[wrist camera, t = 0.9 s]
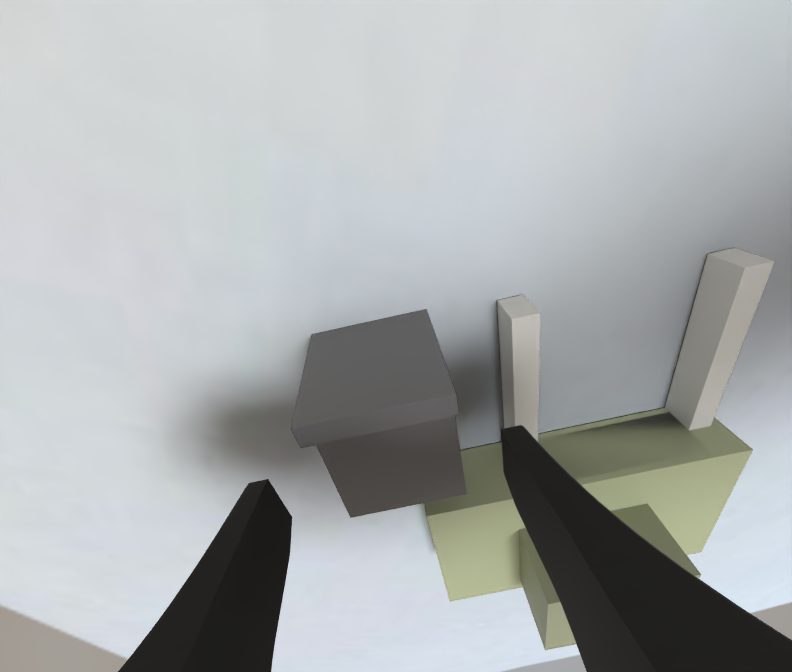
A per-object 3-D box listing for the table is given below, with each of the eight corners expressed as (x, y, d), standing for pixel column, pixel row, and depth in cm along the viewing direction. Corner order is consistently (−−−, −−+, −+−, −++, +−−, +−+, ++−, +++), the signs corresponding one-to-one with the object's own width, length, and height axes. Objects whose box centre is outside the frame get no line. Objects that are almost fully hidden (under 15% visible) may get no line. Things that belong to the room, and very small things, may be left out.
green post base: (748, 244, 13) (993, 323, 8) (661, 501, 22) (753, 617, 17) (382, 325, 14) (396, 449, 8) (439, 546, 22) (463, 672, 17)
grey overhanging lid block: (425, 307, 14) (456, 393, 9) (444, 417, 17) (473, 519, 12) (312, 332, 14) (290, 428, 9) (352, 437, 17) (349, 544, 13)
